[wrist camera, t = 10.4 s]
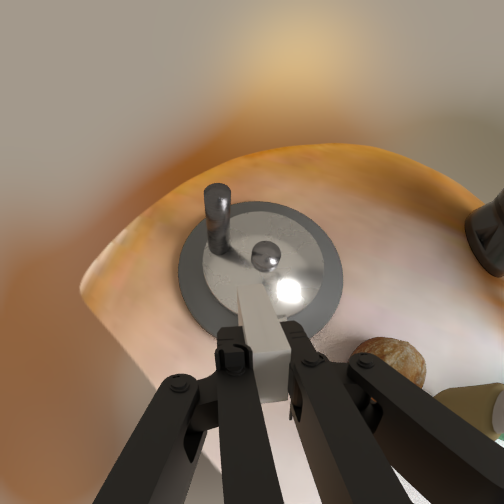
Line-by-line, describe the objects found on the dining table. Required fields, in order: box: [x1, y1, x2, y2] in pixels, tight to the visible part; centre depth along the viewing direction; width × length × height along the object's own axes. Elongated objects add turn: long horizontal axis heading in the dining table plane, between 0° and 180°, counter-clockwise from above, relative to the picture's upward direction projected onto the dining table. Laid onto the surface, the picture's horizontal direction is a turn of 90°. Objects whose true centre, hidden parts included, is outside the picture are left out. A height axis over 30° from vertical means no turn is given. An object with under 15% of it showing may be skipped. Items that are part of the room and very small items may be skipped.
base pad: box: [178, 201, 343, 339], centre depth 31 cm, size 20×20×4 cm
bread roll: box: [348, 337, 426, 402], centre depth 25 cm, size 10×10×8 cm
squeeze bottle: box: [433, 383, 504, 441], centre depth 16 cm, size 8×8×18 cm
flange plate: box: [203, 183, 324, 322], centre depth 27 cm, size 14×16×10 cm
